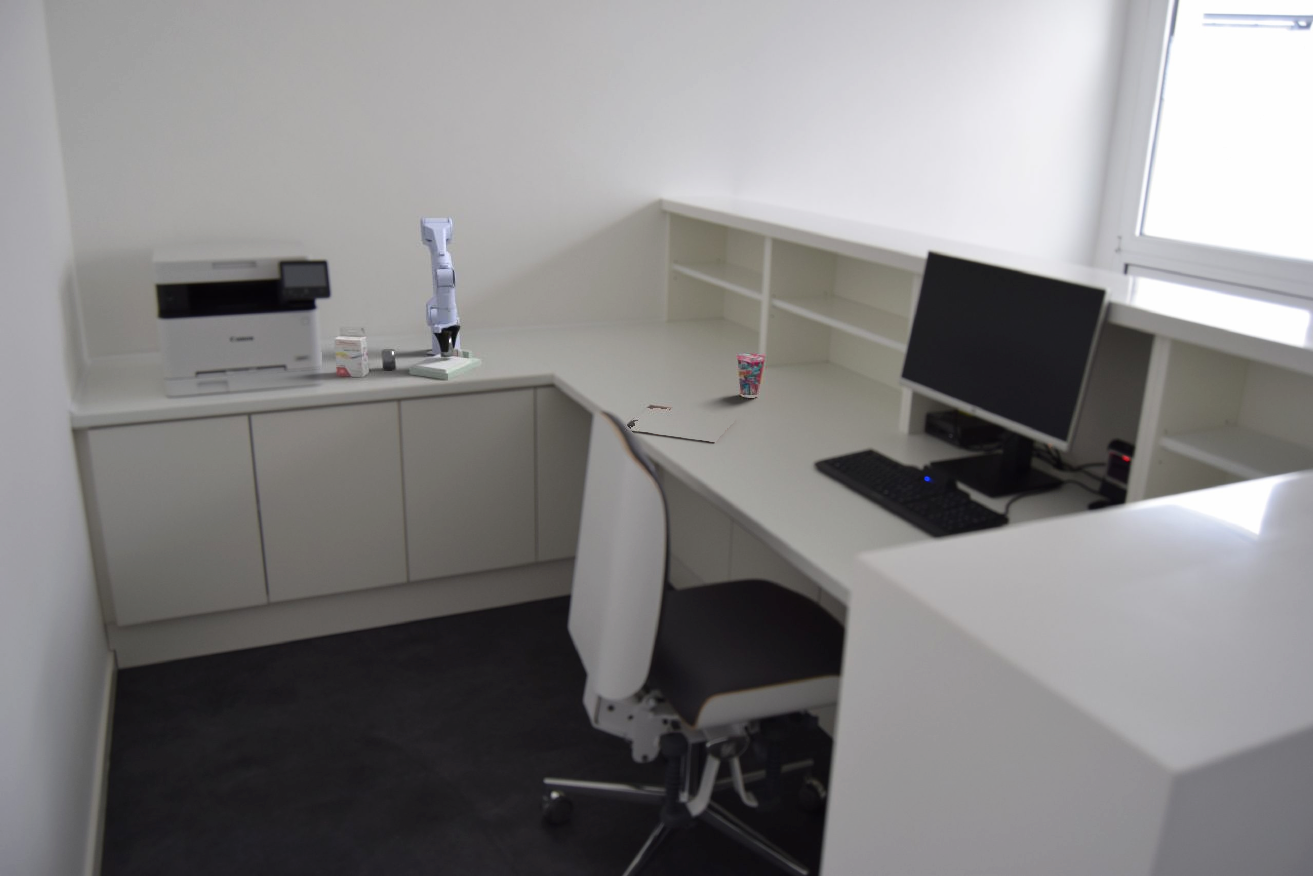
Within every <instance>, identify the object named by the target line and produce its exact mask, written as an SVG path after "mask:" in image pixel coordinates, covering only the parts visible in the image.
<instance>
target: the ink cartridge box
mask: <svg viewBox="0 0 1313 876" xmlns="http://www.w3.org/2000/svg"><path fill="white" fill-rule="evenodd" d="M352 330H353V331H352ZM339 333H340V335H338V336H337V337H335V338H334V351H335V353H334V354H335V355H334V356H335V365H336V376H337V377H338V376H339V377H354V378H364V377H365V376H367V375H368V374H369V373H370V372H369V371H370V368H369V356H368V340H367V335H366V328H365V327H364V326H353V325H352V326H351V325H340V326H339Z"/></svg>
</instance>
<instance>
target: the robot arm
mask: <svg viewBox="0 0 1313 876" xmlns="http://www.w3.org/2000/svg"><path fill="white" fill-rule="evenodd" d="M419 225H420V233H421V242H422V244H423V245H425V246H426V247H428V249H429V253H430V262H431V265H430V266H431V276H432V290H433V292H432V294H433V297H432V298H430V299H428V301H427V302H426V304H425V319H426V326H428V327H430V333H431V350H429V351H427V352H426V354H428V355H434V356H436V355H438V354H440V349H441V352H448V351H449V341H450V336H452V345H453V349H454V348H457V349H461V341H460V339H461V338H460V330H461V325H458V324H460V323H461V322H460V316H458V310H457V309H458V308H457V303H456V293H455V288H456V286H457V285H456V284H457V275H456V271H455V268H454V265H453V264H452V257H451V254H450V252H448V251H447V246H448V245H450V244H452V241H453V233H454V228H453V227H454V226H453V220H452V218H451V217H436V218H435V217H432V218H431V217H429V218H428V217H425V218H424V217H422V218H421V219H420V224H419ZM439 345H440V346H439Z"/></svg>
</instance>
